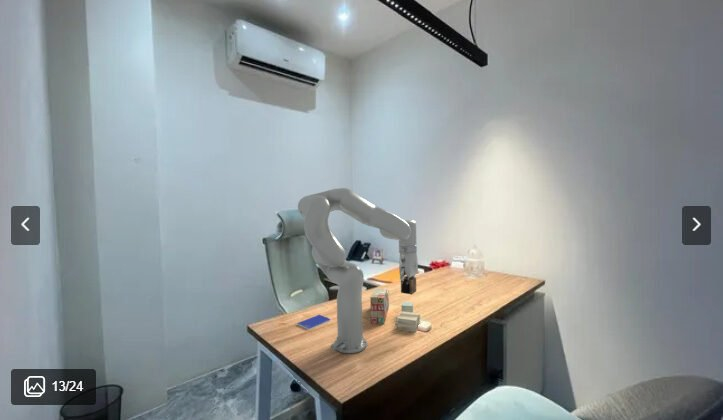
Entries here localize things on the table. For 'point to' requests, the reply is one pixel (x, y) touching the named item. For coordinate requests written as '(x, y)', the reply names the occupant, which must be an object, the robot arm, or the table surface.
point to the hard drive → (313, 322)
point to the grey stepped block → (408, 321)
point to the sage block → (407, 307)
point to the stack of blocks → (379, 306)
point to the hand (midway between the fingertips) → (408, 290)
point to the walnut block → (411, 285)
